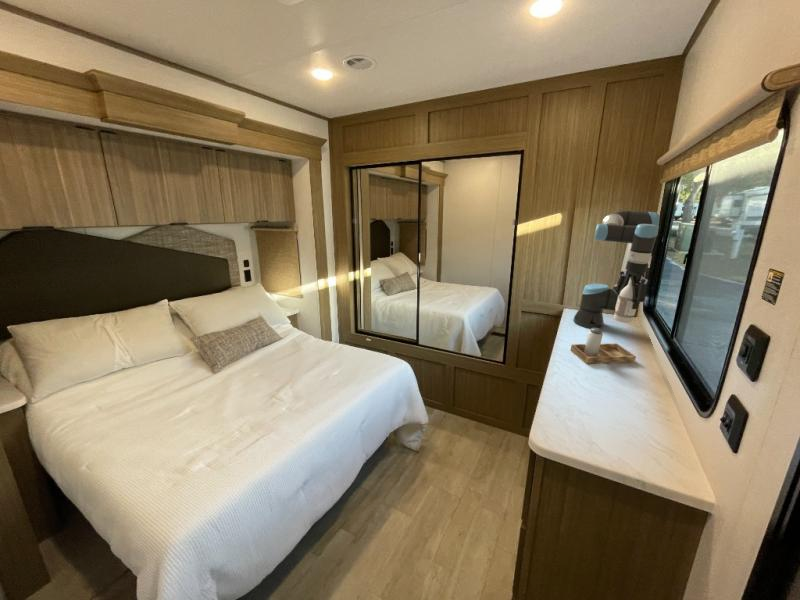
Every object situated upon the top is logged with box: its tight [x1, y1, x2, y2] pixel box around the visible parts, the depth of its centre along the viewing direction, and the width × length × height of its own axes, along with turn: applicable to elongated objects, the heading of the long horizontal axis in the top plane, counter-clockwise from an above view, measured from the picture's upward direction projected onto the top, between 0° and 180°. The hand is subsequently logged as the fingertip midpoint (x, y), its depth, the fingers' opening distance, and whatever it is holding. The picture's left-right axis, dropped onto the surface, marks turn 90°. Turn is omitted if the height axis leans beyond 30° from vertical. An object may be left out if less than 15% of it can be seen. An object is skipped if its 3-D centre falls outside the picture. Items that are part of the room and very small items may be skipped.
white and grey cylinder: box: [584, 328, 604, 357], centre depth 150 cm, size 6×6×13 cm
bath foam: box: [613, 277, 634, 324], centre depth 143 cm, size 7×7×20 cm
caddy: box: [570, 342, 637, 365], centre depth 152 cm, size 23×13×3 cm, turn 94°
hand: (624, 311), depth 145 cm, fingers closed on bath foam, 7 cm apart
